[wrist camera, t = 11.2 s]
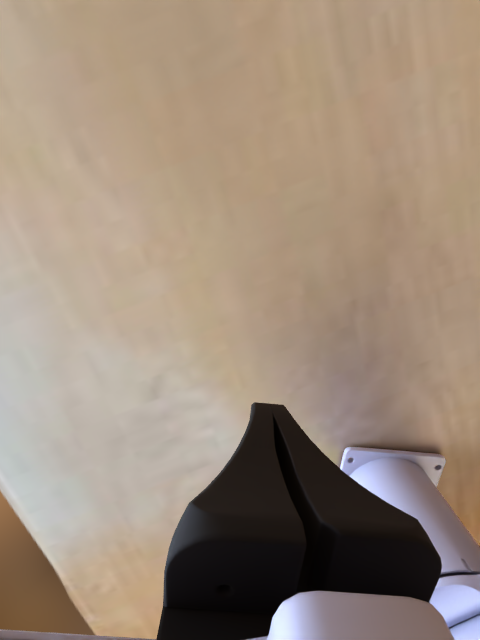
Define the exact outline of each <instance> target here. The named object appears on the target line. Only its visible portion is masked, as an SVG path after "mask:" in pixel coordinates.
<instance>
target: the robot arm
mask: <svg viewBox="0 0 480 640" xmlns="http://www.w3.org/2000/svg"><path fill="white" fill-rule="evenodd" d="M348 458H351V459H348ZM445 463H446V459H445V458H444V457H443V456H442V455H441V454H433V453H421V452H409V451H398V450H386V449H374V448H362V447H348V448H346V449H345V451H344V454H343V458H342V462H341V466H340V468H339V467H338V466H336V465H335V464H334V463H333V462H332V461H331V460H330V459H329V458H328V457H327V456H325V455H324V454H323V453H322V452H321V450H320V449H319V448H318V447H317V446H316V445H315V444H314V443H313V442H312V441H311V440H310V439H309V437H308V436H307V435H306V434H305V432H304V431H303V430H302V429H301V428H300V426H299V425H298V424H297V422H296V421H295V420H294V418H293V417H292V416H291V414H290V413H289V411H288V410H287V409H286V407H285V406H284V405H278V404H266V403H253V404H252V406H251V414H250V421H249V424H248V426H247V429H246V432H245V434H244V436H243V438H242V440H241V442H240V444H239V446H238V447H237V449H236V451H235V453H234V454H233V456H232V457H231V459H230V460H229V462H228V463H227V464H226V466H225V467H224V468H223V470H222V471H221V472H220V473H219V475H218V476H217V477H216V478H215V479H214V480H213V481H212V482H211V483H210V484H209V485H208V487H207V488H206V489H204V490H203V491H202V492H201V493H200V494H199V495H198V496H197V497H195V498H194V499H193V500H192V501H191V502H190V503H189V504H188V506H187V508H186V510H185V512H184V514H183V515H182V517H181V519H180V521H179V524H178V526H177V528H176V530H175V533H174V535H173V538H172V541H171V544H170V547H169V551H168V556H167V561H166V566H165V572H164V599H163V610H162V615H161V620H160V625H159V630H158V635H157V639H142V638H126V637H111V636H95V635H79V634H64V633H48V632H33V631H17V630H1V629H0V640H480V547H479V545H478V544H477V542H476V541H475V540H474V538H473V537H472V536H471V534H470V533H469V531H468V530H467V529H466V527H465V526H464V525H463V523H462V522H461V521H460V519H459V518H458V516H457V515H456V514H455V512H454V511H453V510H452V508H451V507H450V505H449V504H448V503H447V501H446V500H445V499H444V497H443V496H442V494H441V493H440V492H439V490H438V489H437V488H436V487H437V484H438V482H439V479H440V476H441V474H442V471H443V468H444V466H445ZM436 465H437V466H436Z"/></svg>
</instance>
